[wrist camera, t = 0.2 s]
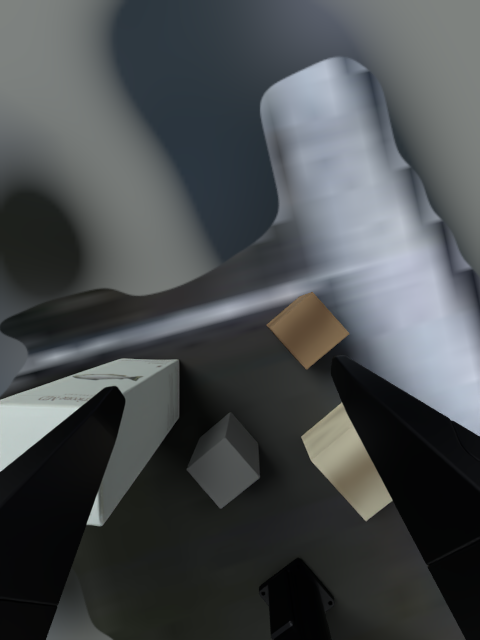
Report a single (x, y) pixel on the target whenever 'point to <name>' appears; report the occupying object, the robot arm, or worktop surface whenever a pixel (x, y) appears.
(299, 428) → the worktop surface
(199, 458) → the gray cube
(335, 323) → the walnut cube
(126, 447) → the supplement box
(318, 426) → the birch block
